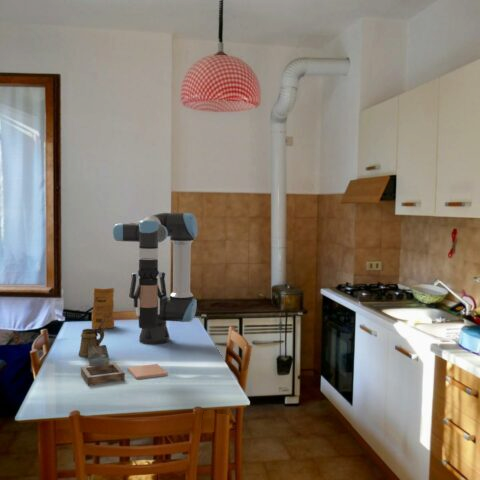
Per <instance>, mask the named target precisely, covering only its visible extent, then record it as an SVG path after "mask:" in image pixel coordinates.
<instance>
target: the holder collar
mask: <svg viewBox="0 0 480 480" xmlns="http://www.w3.org/2000/svg"><path fill="white" fill-rule="evenodd" d="M125 374H126V373H125V371H124V370H123V369H122V368H121V367H120V366H119V365H118V364H117V363H116V362H113V363H109V364H104V365H95V366H89V365H88V366H81V367H80V375H81V377H82V378H83V379H84V382H85V383H86V384H87V385H88V386H93V385H101V384H107V383H116V382H117V383H118V382H123V381H126V380H125V379H126V378H125V377H126V375H125Z"/></svg>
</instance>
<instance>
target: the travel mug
mask: <svg viewBox="0 0 480 480" xmlns="http://www.w3.org/2000/svg"><path fill="white" fill-rule="evenodd" d="M158 283H159V281H158V277H156V280H155V281H153V280H152V279H141V278H140V277H139V278H138V285H139V286H140V285H141V289H140V295H139V298H138V299H139V300H140V316H138V328H139V329H141V330H142V329H153V328H156V326H157V303H158V286H159V284H158Z"/></svg>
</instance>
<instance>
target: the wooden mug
mask: <svg viewBox="0 0 480 480" xmlns="http://www.w3.org/2000/svg"><path fill="white" fill-rule="evenodd" d="M108 318H109V316H107V317H106V319H105V320H104V321H103V323H102V324H101V325H100V326H99V327H98V328H95V329H93V328H83V329H82V332H81V335H80V337H81V339H80V345H79V346H80V347H79V351H78V356H79V357H83V358H88V349H89V346H98V345H99V346H101V343H102V342H103V340H104V338H105V331H104V329H102V326H103V325H104V323H105V322H106V320H107V319H108ZM98 334H99V335H98ZM98 336H99V338H98Z"/></svg>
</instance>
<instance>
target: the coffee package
mask: <svg viewBox="0 0 480 480" xmlns="http://www.w3.org/2000/svg"><path fill="white" fill-rule="evenodd" d="M114 293H115V288H114V287H111V288H109V287H108V288H97V287H94V289H93V308H92V311H91V329H95V328H98V327H99V326H100V325H101V324H102V323H103V321H104V320H105V319H106V317H107V316H109V318H108V319H107V320H106V322H105V323H104V325H103V326H102V329H103V330H107V329H113V328H114V326H115V318H114V305H115V304H114V297H115V296H114Z"/></svg>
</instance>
